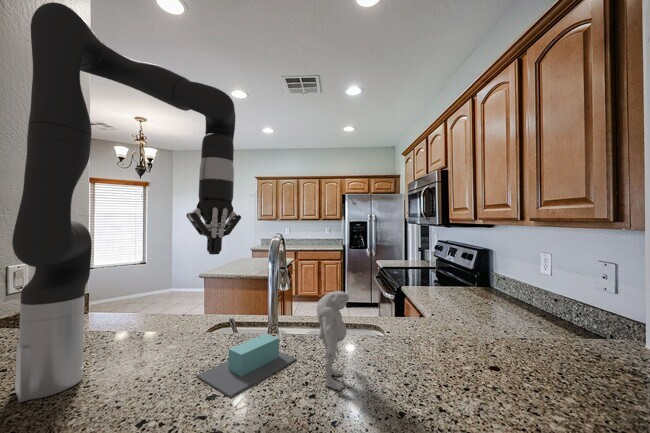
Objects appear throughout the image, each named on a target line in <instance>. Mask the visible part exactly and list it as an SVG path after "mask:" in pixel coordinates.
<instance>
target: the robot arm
mask: <svg viewBox="0 0 650 433" xmlns="http://www.w3.org/2000/svg"><path fill="white" fill-rule="evenodd" d="M30 42H31V43H30V44H31V54H32V80H31V81H32V82H31V95H30V111H29V118H28V124H27V135H26V136H27V138H26V158H25V167H24V174H23V176H24V177H23V189H22V195H21V200H20V204H19V207H18V208H19V209H18V211H17V217H16V220H15V224H14V228H13V229H14V230H13V232H12V240H11V241H12V242H11V244H12V245H11V246H12V249H13V253H14V255H15V256H16V258H17V259H18V260H19V261H20V262H22V264H25V265H27V266H28V267H29V266H30V267H32V268H34V269H35V270H34V274H33V276H32V277H31V279H30V281H29V282H28V283H27V284H25V285H24V286H23V287H22V289H21V292H20V308H19V333H18V341H17V342H16V360H15V383H14V385H15V386H14V392H15V395H16V398H17V401H18V403H23V402H27V401H30V400H36V399H37V400H38V399H42V398H46V397H50V396H52V395H53V396H54V395H57V394H59V393H61V392H63V391H66V390H68V389H70V388H72V387H74V386H75V385H77V384H78V383H80V381H82V378H83V369H84V367H83V365H84V336H85V335H84V334H85V333H84V330H85V329H84V328H85V301H86V300H85V294H86V286H87V284H88V281H89V278H90V276H91V275H90V274H91V264H92V263H91V261H92V248H93V247H92V246H93V243H92V236H91V233H90V231H89V230H88V228H87V227H86V226H85V225H84V224H83V223H81V222H79V221H76V220H72V201H73V200H72V199H73V195H74V191H75V188H76V186H77V184H78V182H79V181H80V179H81V177H82V175H83V174H84V171H85V169H86V168H87V165H88V162H89V160H90V156H91V155H90V154H91V147H92V146H91V145H92V124H91V119H90V115H89V111H88V108H87V107H88V106H87V104H86V101H85V98H84V97H85V96H84V94H83V93H84V92H83V91H82V85H81V72H84V73H87V74H90V75H93V76H96V77H101V78H104V79H107V80H110V81H113V82H116V83H119V84H121V85H124V86H126V87H129V88H132V89H134V90H137V91H138V92H141V93H144V94H145V95H148V96H150V97H152V98H154V99H157V100H158V101H161V102H163V103H166V104H167V105H170V106H172V107H174V108H175V109H178V110H181V111H185V112H186V111H193V112H196V113H199V114H200V115H203V116H204V117H205V118H204V119H205V131H204V132H205V135H204V137H203V138H202V143H201V159H200V167H199V178H198V203H197V204H196V208H195V209H193V210H192V211H191V212H187V213H186V218H187V219H188V220H189V222H190V223H191V225H192V226H193V228H194V229H195V230H196V232H197V233H198V234H199V235H200V236H204V237H206V239H207V240H206V245H207V246H206V251H207V252H208V254H209V255H220V253H221V251H222V248H223V247H222V245H223V237H225V236H230V234H231V233H232V231H233V230H234V229H235V228H236V226H237V225H238V223H239V222H240V220H241V219H242V216H241V215H240V214H237V213H236V212H235V211H234V206H233V199H234V184H235V182H234V181H235V168H234V153H235V152H234V150H235V148H234V139H235V138H234V137H235V129H236V111H235V110H236V109H235V104H234V101H233V99H232V98H231V96H230V95H229V94H227V93H226V92H225V91H223V90H222V89H219V88H217V87H215V86H212V85H208V84H205V83H203V82H197V81H193V80H190V79H189V78H186V77H185V76H183V75H181V74H179V73H177V72H174V71H172V70H170V69H168V68H166V67H164V66H162V65H158V64H156V63H155V64H154V63H151V62H146V61H145V62H144V61H139V60H135V59H133V58H132V59H131V58H130V57H127V56H125V55H123V54H121V53H119V52H117V51H115V50H114V49H113V48H111V47H109V45H107V44H105V43H104V42H102V41H101V40H100V39H99V37H98V35H97V34H96V33H95V32H94V31H93V30H92V28H91V27H90V25H89V24H88V23H87V22H86V21H85V19H84V18H82V16H80V15H79V14H78V13H77V12H76V11H75V10H74V9H72V8H71V7H69V6H68V5H65V4H63V3H61V2H60V3H59V2H53V1H52V2H46V3H43V4H42V5H40V6H39V7H37V9H35V11H34V12H33V15H32V17H31V21H30ZM201 218H202V219H201Z"/></svg>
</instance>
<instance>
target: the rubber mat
mask: <svg viewBox="0 0 650 433" xmlns="http://www.w3.org/2000/svg"><path fill="white" fill-rule="evenodd" d="M297 359H298V358H296V357H294V356H292V355H289V354H286V353H284V352H281V351H279V357H278V358H276V359H274V360H272V361H271V362H269V363H267V364H265V365H263V366H261V367H259V368H257V369H255V370H253V371H251V372H249V373H247V374H246V375H244V376H242V377H241V376H239V375H237V374H235V373H233V372H231V371H229V360H227V361H225V362H223V363H220V364H219V365H215V366H214V367H211V368H210V369H207V370H204V371H203V372H199V373H198V374H196V378H198V379H199V380H200V381H202V382H204V383H205V384H207V385H209V386H210V387H212V388H214V389H215V390H217V391H219V392H220V393H222V394H224V395H225V396H226V397H228V398H230V399H231V398H233V397H235V396H237V395H239V394H240V393H241V392H243V391H244V392H245V390H247V389H249V388H250V387H252V386H255V385H256V384H257V383H259V382H261V381H263V380H265V379H266V378H268V377H270V376H272V375H273V374H275V373H276V372H278V371H280V370H282V369H283V368H284V369H285V367H288V366H289V365H291V364H293V363H294V362H296V361H297Z"/></svg>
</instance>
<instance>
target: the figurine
mask: <svg viewBox="0 0 650 433" xmlns="http://www.w3.org/2000/svg"><path fill="white" fill-rule="evenodd" d="M349 299H350V296H349V294H348V293H346V292H345V291H342V290H336V291H335V290H334V291H330V292H328V293H326V294H325V295H323V296H322V297H321V298H320V299H318V301H317V305H316V306H317V307H316V316H317V320H318V323H319V334H318V338H319V339H320V340H322V341H323V346H324V347H325V352H324V359H325V361H324V369H325V371H324V377H326V380H325V382H324V385H325V386H326V387H329V388H331V389H333V390H337V391H340V392H341V391H342V389H344V383H343V382H339V381H336V380H335V379H333V378H332V376H335V377H338V376H339V377H342V376H343V373H342V371H341V370H340V369H338V368H336V369H334V368H333V364H334V363H333V362H334V361H336V362H338V361H339V360H338V357H337V355H340V351H339V349H338V347H337V346H338V342H342V341H344V339H345V338H346V337H347V326H346V323H345V322H344V321H343V315H342V313H341V310H343V309H344V308H346V307H345V306H346V305H347V303H348V301H349Z"/></svg>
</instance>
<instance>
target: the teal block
mask: <svg viewBox="0 0 650 433" xmlns="http://www.w3.org/2000/svg"><path fill="white" fill-rule="evenodd" d="M279 352H280V338H279V337H277V336H274V335H271V334H268V333H265V334H262V335H260V336H257V337H255V338H253V339H250V340H248V341H245V342H243V343H240V344H237V345H235V346H233V347H231V348H228V361H229V371H231V372H233V373H235V374H237V375H239V376H241V377H242V376H244V375H246V374H247V373H249V372H251V371H253V370H255V369H257V368H259V367H261V366H263V365H265V364H267V363H269V362H271V361H272V360H274V359H276V358H278V357H279Z"/></svg>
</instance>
